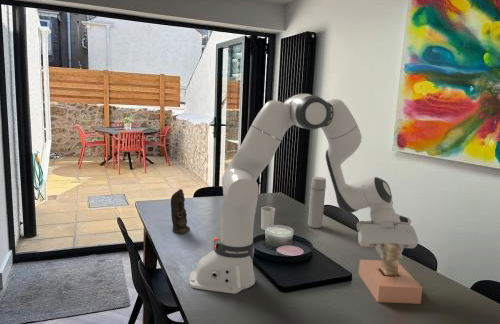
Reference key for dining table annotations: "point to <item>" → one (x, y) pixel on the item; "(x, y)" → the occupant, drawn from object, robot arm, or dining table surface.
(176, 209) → the statue
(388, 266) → the peg
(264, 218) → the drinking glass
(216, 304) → the dining table surface
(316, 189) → the water bottle
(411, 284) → the socket
